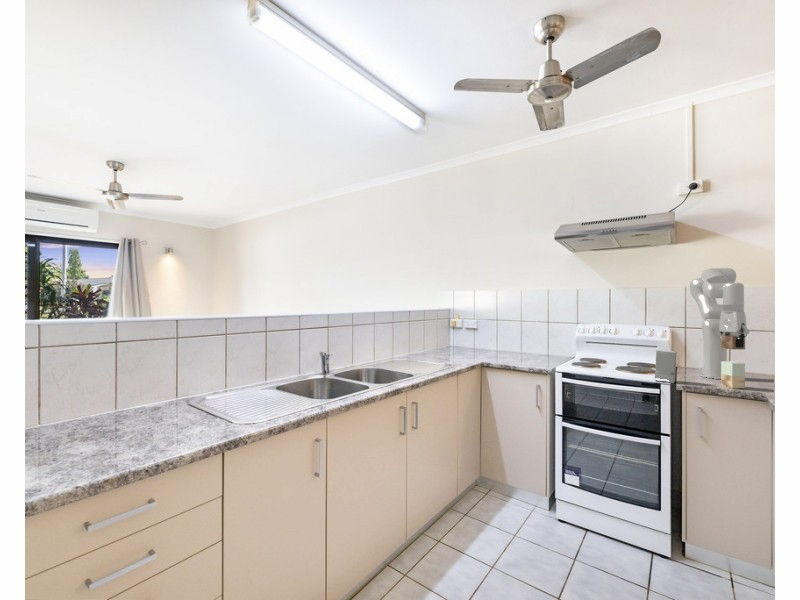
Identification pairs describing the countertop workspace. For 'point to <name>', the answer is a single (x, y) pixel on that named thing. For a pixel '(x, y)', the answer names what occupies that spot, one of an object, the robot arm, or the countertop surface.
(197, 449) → the countertop surface
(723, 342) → the walnut block
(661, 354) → the skincare box
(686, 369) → the countertop surface
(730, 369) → the sage block
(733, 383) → the oak block
